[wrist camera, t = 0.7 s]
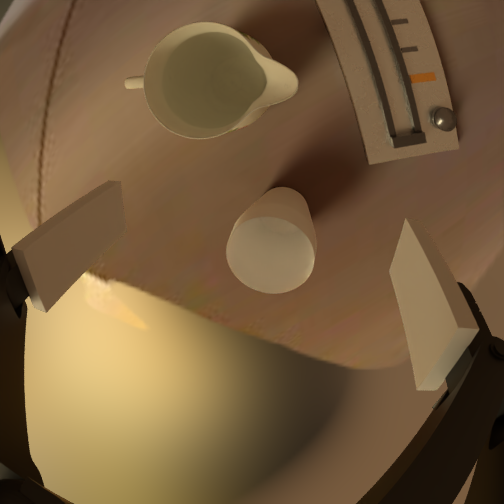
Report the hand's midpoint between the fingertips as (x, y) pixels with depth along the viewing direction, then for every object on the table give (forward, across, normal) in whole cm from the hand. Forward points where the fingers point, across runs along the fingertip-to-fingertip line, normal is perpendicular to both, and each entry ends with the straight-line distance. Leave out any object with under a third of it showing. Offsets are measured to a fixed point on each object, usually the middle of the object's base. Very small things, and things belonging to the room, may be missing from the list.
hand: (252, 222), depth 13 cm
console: (+26, +9, +15) cm, 31 cm away
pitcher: (+26, -8, +6) cm, 28 cm away
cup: (+26, 0, -10) cm, 28 cm away
